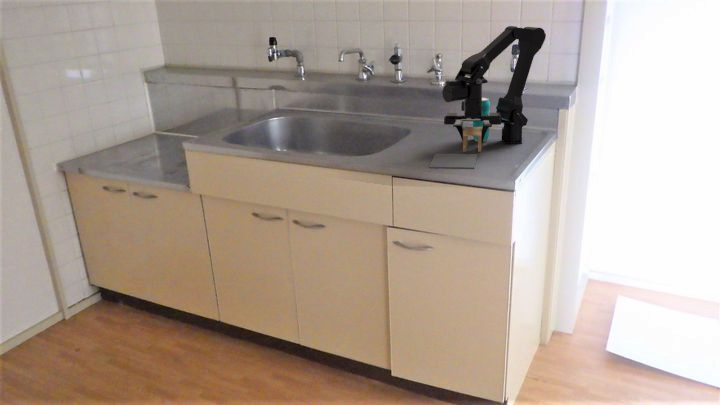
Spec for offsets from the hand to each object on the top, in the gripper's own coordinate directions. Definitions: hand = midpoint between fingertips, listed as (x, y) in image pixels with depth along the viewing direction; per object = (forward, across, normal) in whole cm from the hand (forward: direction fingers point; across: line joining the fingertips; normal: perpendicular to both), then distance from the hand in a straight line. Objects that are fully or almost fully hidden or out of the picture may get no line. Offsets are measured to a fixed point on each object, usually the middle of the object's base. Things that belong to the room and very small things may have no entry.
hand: (472, 143), depth 204 cm
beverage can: (+2, -2, -12) cm, 12 cm away
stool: (+2, 0, 0) cm, 2 cm away
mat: (+2, +5, +13) cm, 14 cm away
